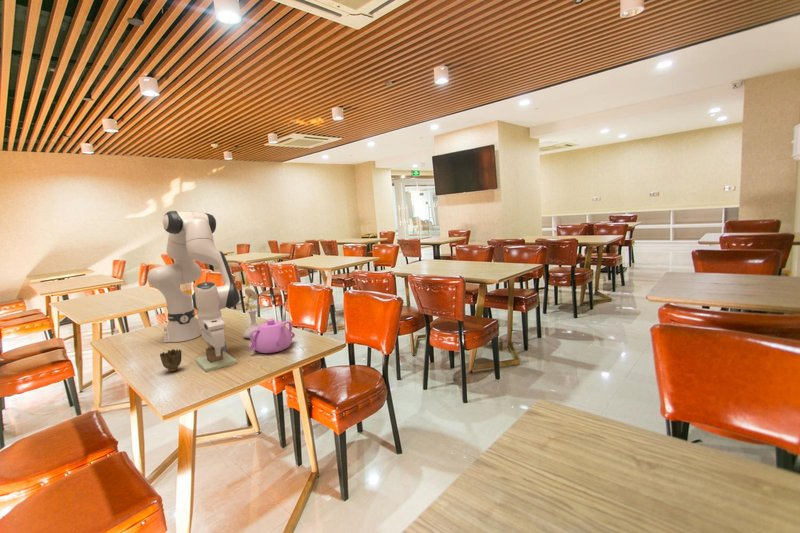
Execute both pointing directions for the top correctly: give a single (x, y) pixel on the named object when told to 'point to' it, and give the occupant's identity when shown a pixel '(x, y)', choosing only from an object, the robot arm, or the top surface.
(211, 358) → the walnut block
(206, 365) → the base plate
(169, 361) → the dark brown round piece
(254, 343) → the teapot
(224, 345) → the slate block
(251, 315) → the flower in vase
